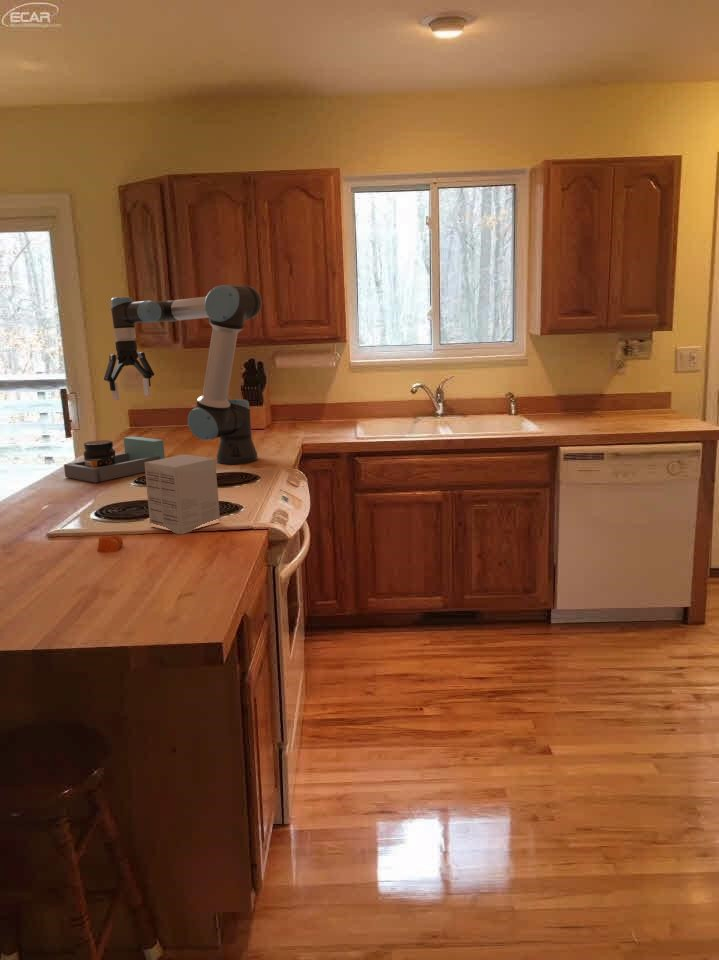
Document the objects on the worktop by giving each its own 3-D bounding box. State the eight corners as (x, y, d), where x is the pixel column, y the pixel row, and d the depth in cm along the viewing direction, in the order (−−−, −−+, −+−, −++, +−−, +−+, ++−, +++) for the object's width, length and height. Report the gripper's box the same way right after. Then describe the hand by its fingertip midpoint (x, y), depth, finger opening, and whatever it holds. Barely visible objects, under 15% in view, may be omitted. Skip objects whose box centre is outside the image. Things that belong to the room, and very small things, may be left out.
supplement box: (189, 516, 214) (184, 453, 211) (221, 523, 206) (216, 458, 202) (149, 527, 204) (142, 461, 201) (180, 535, 196) (174, 467, 192)
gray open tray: (165, 467, 283) (163, 439, 280) (95, 482, 260) (92, 453, 258) (135, 462, 293) (132, 436, 291) (65, 477, 271) (62, 448, 269)
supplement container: (85, 480, 266) (81, 445, 264) (86, 474, 276) (83, 441, 274) (117, 477, 269) (113, 443, 266) (118, 472, 279) (114, 438, 276)
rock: (143, 542, 193) (141, 526, 192) (130, 558, 181) (128, 540, 180) (94, 544, 193) (92, 527, 192) (78, 559, 181) (76, 542, 180)
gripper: (148, 338, 300) (153, 393, 304) (89, 342, 281) (96, 401, 286) (159, 338, 295) (165, 394, 299) (101, 341, 277) (108, 401, 281)
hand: (132, 397), depth 293 cm, fingers open, 13 cm apart
